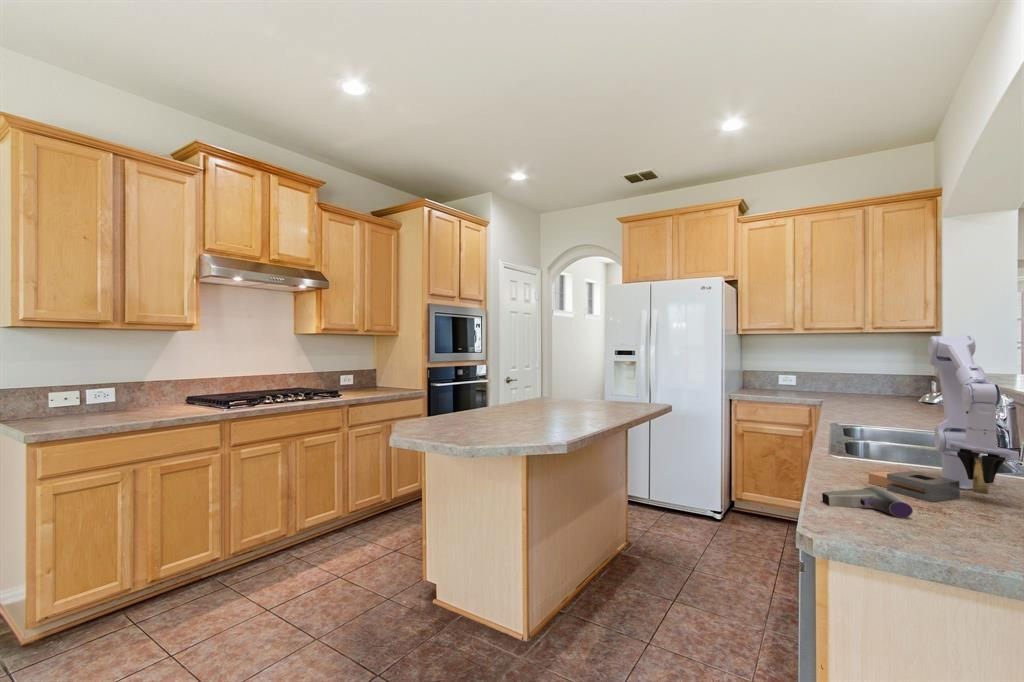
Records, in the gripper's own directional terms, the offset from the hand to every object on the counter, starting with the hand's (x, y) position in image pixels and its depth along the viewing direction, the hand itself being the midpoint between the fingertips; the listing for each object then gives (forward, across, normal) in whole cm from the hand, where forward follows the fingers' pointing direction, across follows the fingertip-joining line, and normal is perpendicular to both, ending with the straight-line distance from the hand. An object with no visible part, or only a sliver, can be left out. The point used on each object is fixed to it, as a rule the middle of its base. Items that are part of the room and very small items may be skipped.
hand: (980, 481), depth 128 cm
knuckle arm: (+5, -13, -9) cm, 16 cm away
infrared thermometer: (+6, -4, -36) cm, 37 cm away
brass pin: (+3, 0, 0) cm, 3 cm away
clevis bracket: (+5, -8, -9) cm, 13 cm away
